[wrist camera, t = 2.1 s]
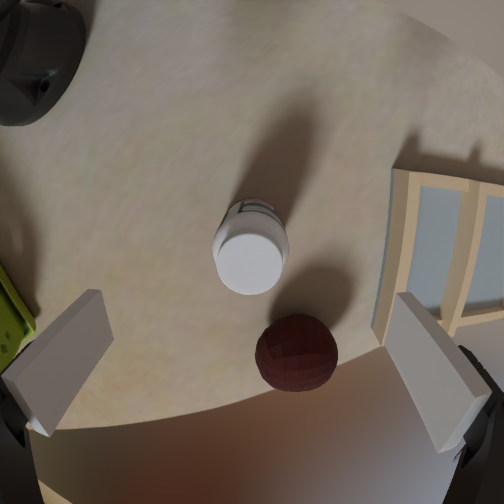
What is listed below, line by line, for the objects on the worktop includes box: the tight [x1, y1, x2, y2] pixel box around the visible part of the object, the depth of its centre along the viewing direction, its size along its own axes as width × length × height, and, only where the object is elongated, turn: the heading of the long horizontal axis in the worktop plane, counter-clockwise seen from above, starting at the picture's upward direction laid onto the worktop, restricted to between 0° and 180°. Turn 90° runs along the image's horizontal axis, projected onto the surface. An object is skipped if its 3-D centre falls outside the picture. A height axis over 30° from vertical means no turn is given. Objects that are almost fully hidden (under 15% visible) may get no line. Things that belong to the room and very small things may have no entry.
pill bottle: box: [213, 199, 289, 295], centre depth 22 cm, size 5×5×9 cm
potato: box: [255, 314, 338, 392], centre depth 26 cm, size 7×8×7 cm
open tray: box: [371, 168, 504, 346], centre depth 24 cm, size 16×21×4 cm
